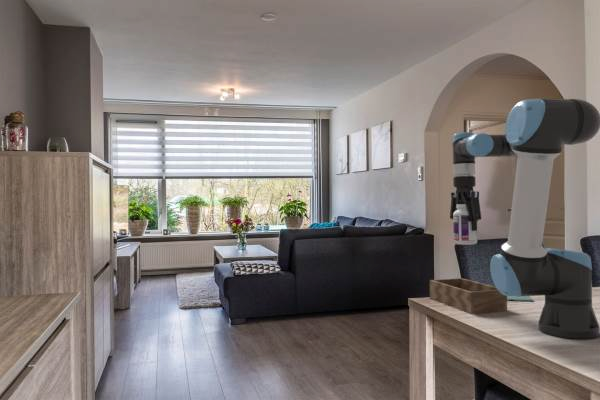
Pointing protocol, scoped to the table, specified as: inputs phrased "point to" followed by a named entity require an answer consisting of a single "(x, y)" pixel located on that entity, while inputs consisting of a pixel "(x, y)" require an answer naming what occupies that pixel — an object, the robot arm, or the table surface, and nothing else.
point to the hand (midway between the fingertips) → (465, 239)
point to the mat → (520, 298)
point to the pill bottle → (461, 226)
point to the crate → (468, 295)
